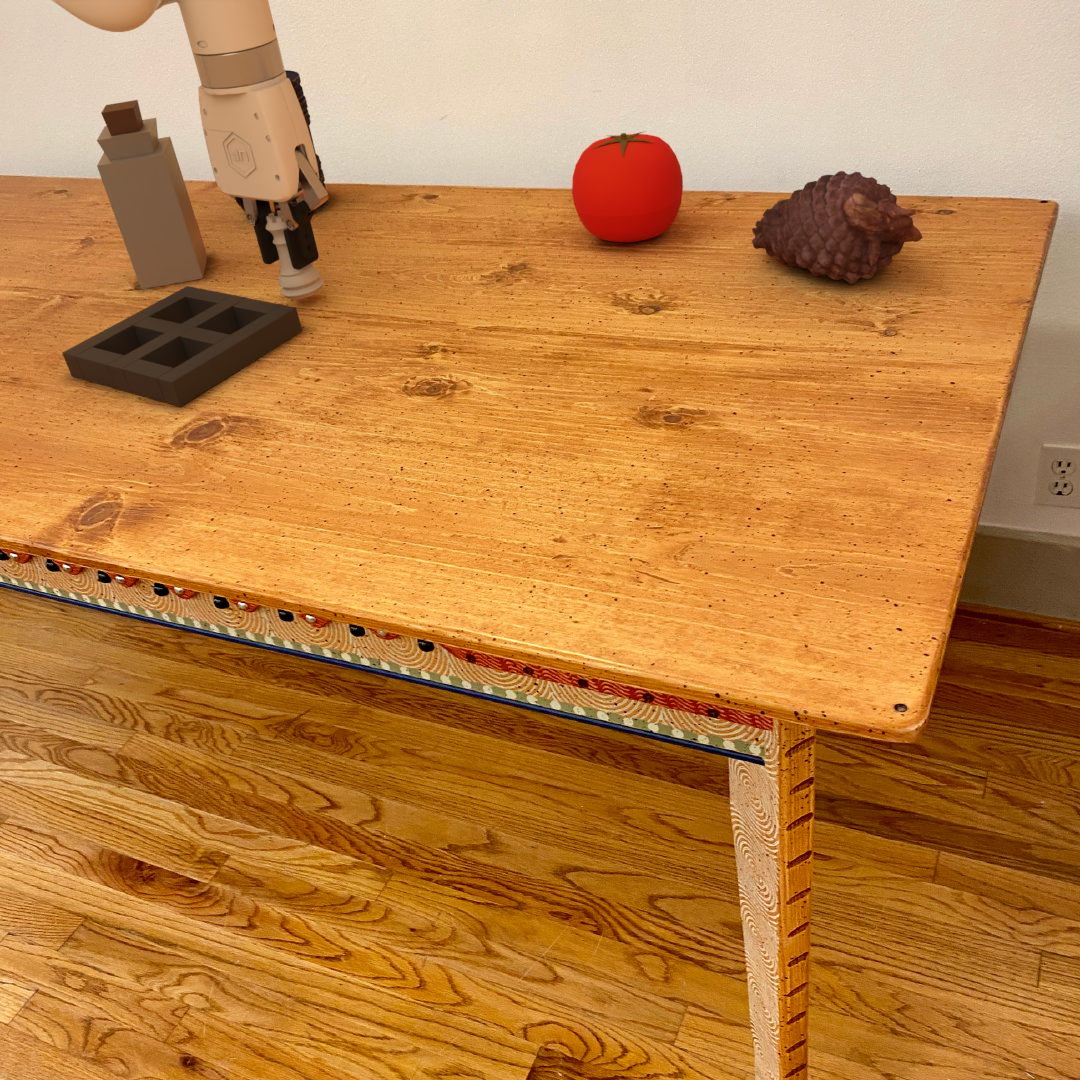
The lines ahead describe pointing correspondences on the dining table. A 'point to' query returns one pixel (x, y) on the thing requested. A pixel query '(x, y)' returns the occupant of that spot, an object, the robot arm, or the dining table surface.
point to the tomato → (627, 187)
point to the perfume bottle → (149, 198)
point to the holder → (183, 344)
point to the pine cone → (837, 227)
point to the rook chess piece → (291, 279)
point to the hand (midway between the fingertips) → (291, 259)
